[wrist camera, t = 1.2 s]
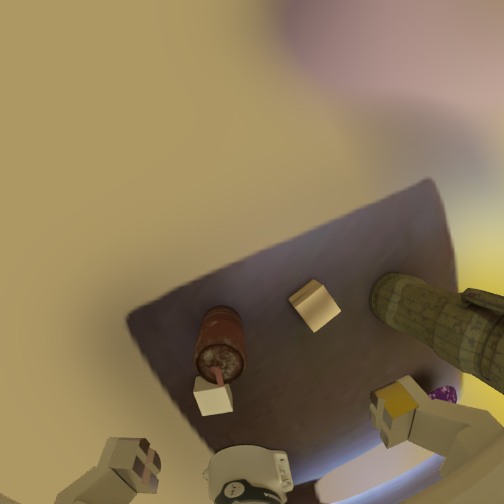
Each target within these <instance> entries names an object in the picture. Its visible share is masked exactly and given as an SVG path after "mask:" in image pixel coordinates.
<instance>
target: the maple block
mask: <svg viewBox="0 0 504 504" xmlns="http://www.w3.org/2000/svg"><path fill="white" fill-rule="evenodd" d="M288 300H289V301H290V302H291V304H292V305H293V306H294V308H295V309H296V310H297V312H298V313H299V314H300V315H301V317H302V318H303V319H304V321H305V322H306V323H307V324H308V326H309V327H310V328H311V329H312V331H313V332H316V331H317V330H318V329H320V328H321V327H322V326H323V325H325V324H326V323H327V322H328V321H330V320H331V319H332V318H333V317H335V316H336V315H337V314H338V313H339V312H341V310H340V309H339V307H338V306H337V304H336V303H335V302H334V300H333V299H332V297H331V296H330V294H329V293H328V292H327V290H326V289H325V287H324V286H323V285H322V284H320V283H319V282H317V281H315V280H314V279H313V280H311V281H310V282H309V283H308V284H306V285H305V286H304V287H303V288H301V289H300V290H299V291H297V292H296V293H295V294H294V295H292V296H291V297H290V298H288Z"/></svg>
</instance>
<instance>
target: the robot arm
mask: <svg viewBox="0 0 504 504" xmlns="http://www.w3.org/2000/svg"><path fill="white" fill-rule="evenodd" d="M370 400H371V401H372V404H371V405H370V407H369V413H370V418H371V421H372V423H373V425H374V427H375V429H378V430H380V431H381V434H380V437H381V439H382V441H383V443H384V444H385V446H386V448H387V449H388V448H390V447H393V446H395V445H397V444H399V443H402V442H404V441H406V440H408V441H410V442H412V443H414V444H416V445H419V446H421V447H423V448H425V449H427V450H430V451H432V452H434V453H436V454H439V455H441V456H443V457H446V458H445V460H444V462H443V463H442V465H441V467H440V469H439V473H440V474H441V476H442V477H443V479H441V480H440V481H438V482H437V483H435V484H433V485H431V486H430V487H428V488H426V489H424V490H423V491H421V492H419V493H417V494H415V495H413V496H411V497H409V498H407V499H405V500H403V501H401V502H399V503H397V504H504V427H503V426H502V425H501V424H500V423H499V422H498V421H497V420H496V419H495V418H494V417H493V416H492V415H491V414H490V413H489V412H488V411H486V410H481V409H476V408H472V407H467V406H463V405H459V404H455V403H451V402H447V401H443V400H439V399H433V400H431V399H430V397H429V396H428V395H427V394H426V393H425V392H424V391H423V390H422V389H421V387H420V386H419V385H418V384H417V383H416V382H415V381H414V380H413V379H412V378H411V376H408V375H407V376H405V377H403V378H401V379H399V380H396V381H394V382H392V383H389V384H387V385H385V386H382V387H380V388H378V389H375V390H373V391H371V393H370ZM149 446H150V443H149V442H148V441H147V439H145V438H117V437H114V438H113V437H110V438H109V439H107V442H106V444H105V447H104V449H103V452H102V455H101V457H100V460H99V463H98V465H97V467H93V468H92V469H91V470H89V471H88V472H86V473H85V474H84V475H83V476H81V477H80V478H79V479H77V480H76V481H75V482H73V483H72V484H71V485H69V486H68V487H67V488H66V489H64V490H63V491H61V492H60V493H59V494H58V495H57V497H56V501H55V503H54V504H129V503H130V502H131V501H132V499H133V498H134V497H135V496H136V495H137V493H152V494H156V493H157V487H158V479H157V477H156V475H157V474H158V473H159V472H160V469H161V462H160V458H159V456H158V454H157V453H156V451H155V450H153V449H151V448H150V447H149ZM203 477H204V479H206V480H207V481H208V488H209V498H210V499H211V500H212V501H213V502H214V504H284V503H285V502H286V501H287V497H286V492H288V491H292V490H293V489H292V488H293V487H294V486H293V480H292V475H291V471H290V466H289V462H288V457H287V453H286V452H285V451H277V450H268V449H266V448H263V447H259V446H252V445H240V446H233V447H229V448H226V449H223V450H221V451H219V452H217V453H216V454H215V455H214V456H213V457H212V458H211V460H210V462H209V467H208V469H206V470H205V471H204V472H203ZM0 504H20V503H18V502H16V501H14V500H12V499H10V498H8V497H6V496H5V495H3V494H1V493H0Z"/></svg>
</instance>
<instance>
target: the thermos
mask: <svg viewBox="0 0 504 504" xmlns="http://www.w3.org/2000/svg"><path fill="white" fill-rule="evenodd" d="M369 301H370V308H371V310H372V313H373V314H374V315H375V316H376V317H377V318H379V319H381V320H382V321H383V322H384V323H385V324H387V325H388V326H390V327H392V328H393V329H395V330H397V331H399V332H406V333H408V334H410V335H411V336H413V337H415V338H416V339H418V340H420V341H421V342H423V343H425V344H426V345H428V346H430V347H431V348H433V349H434V351H435V352H436V354H437V355H438V356H439V357H440V358H442V359H443V360H445V361H447V362H448V363H450V364H451V365H453V366H454V367H456V368H458V369H459V370H461V371H462V372H465V373H468V374H472V375H473V376H475V377H477V378H478V379H480V380H481V381H483V382H485V383H486V384H488V385H489V386H491V387H492V388H494V389H496V390H497V391H499V392H500V393H502V394H503V395H504V296H500V295H497V294H493V293H490V292H486V291H482V290H478V289H471V288H467V289H466V290H465V291H464V292H463V293H458V294H457V293H454V292H451V291H447V290H444V289H441V288H438V287H435V286H431V285H428V284H426V283H425V282H424V281H423V280H421V279H420V278H417V277H414V276H410V275H407V274H399V273H394V272H390V273H387V274H384V275H383V276H381V277H380V278H379V279H378V280H377V281H376V282H375V284H374V285H373V288H372V290H371V292H370V298H369Z"/></svg>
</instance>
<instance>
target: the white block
mask: <svg viewBox="0 0 504 504" xmlns="http://www.w3.org/2000/svg"><path fill="white" fill-rule="evenodd" d="M193 393H194V396H195V398H196V401H197V403H198V406H199V408H200V411H201V413H202V416H206V415H213V414H220V413H226V412H232V411H233V402H232V393H231V390H230V386H229V384H226V385H224V387H219V386H218V385H215V384H212V383H209V382H207V381H205V380H204V379H203V378H202V377H201V376H199V377H196V380H195V385H194V390H193Z"/></svg>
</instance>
